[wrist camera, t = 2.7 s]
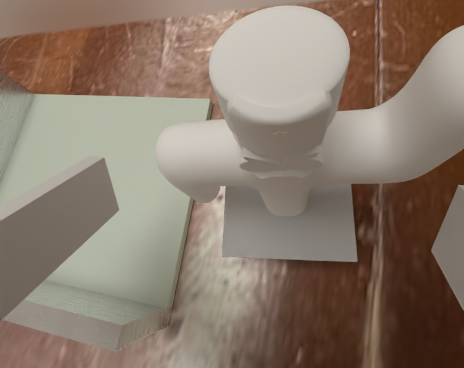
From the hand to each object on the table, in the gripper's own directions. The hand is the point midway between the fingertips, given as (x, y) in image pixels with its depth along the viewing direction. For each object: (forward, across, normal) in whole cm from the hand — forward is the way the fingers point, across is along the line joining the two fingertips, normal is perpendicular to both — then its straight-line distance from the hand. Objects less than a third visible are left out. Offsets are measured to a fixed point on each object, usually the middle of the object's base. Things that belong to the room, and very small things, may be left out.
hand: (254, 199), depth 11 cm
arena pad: (+8, -15, -5) cm, 18 cm away
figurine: (+8, +1, -5) cm, 9 cm away
